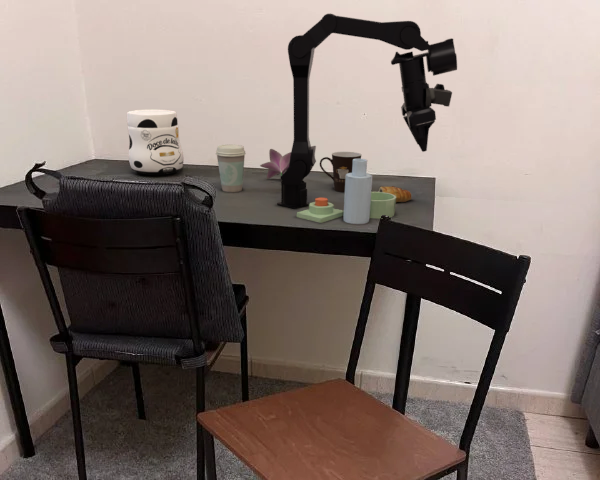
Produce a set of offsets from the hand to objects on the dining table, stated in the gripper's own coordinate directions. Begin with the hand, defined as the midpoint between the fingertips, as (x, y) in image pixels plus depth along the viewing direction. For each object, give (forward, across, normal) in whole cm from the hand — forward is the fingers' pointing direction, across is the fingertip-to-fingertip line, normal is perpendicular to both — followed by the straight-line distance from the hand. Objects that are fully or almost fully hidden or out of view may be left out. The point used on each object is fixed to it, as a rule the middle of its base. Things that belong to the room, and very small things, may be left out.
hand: (422, 147), depth 156 cm
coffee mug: (+11, +23, +23) cm, 34 cm away
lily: (+7, +32, +41) cm, 52 cm away
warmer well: (+12, -5, +14) cm, 20 cm away
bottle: (+11, -12, +20) cm, 26 cm away
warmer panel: (+9, -9, +28) cm, 31 cm away
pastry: (+14, +10, +9) cm, 20 cm away
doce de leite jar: (-3, +40, +80) cm, 90 cm away
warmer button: (+6, -9, +27) cm, 30 cm away
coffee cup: (+3, +18, +54) cm, 57 cm away
